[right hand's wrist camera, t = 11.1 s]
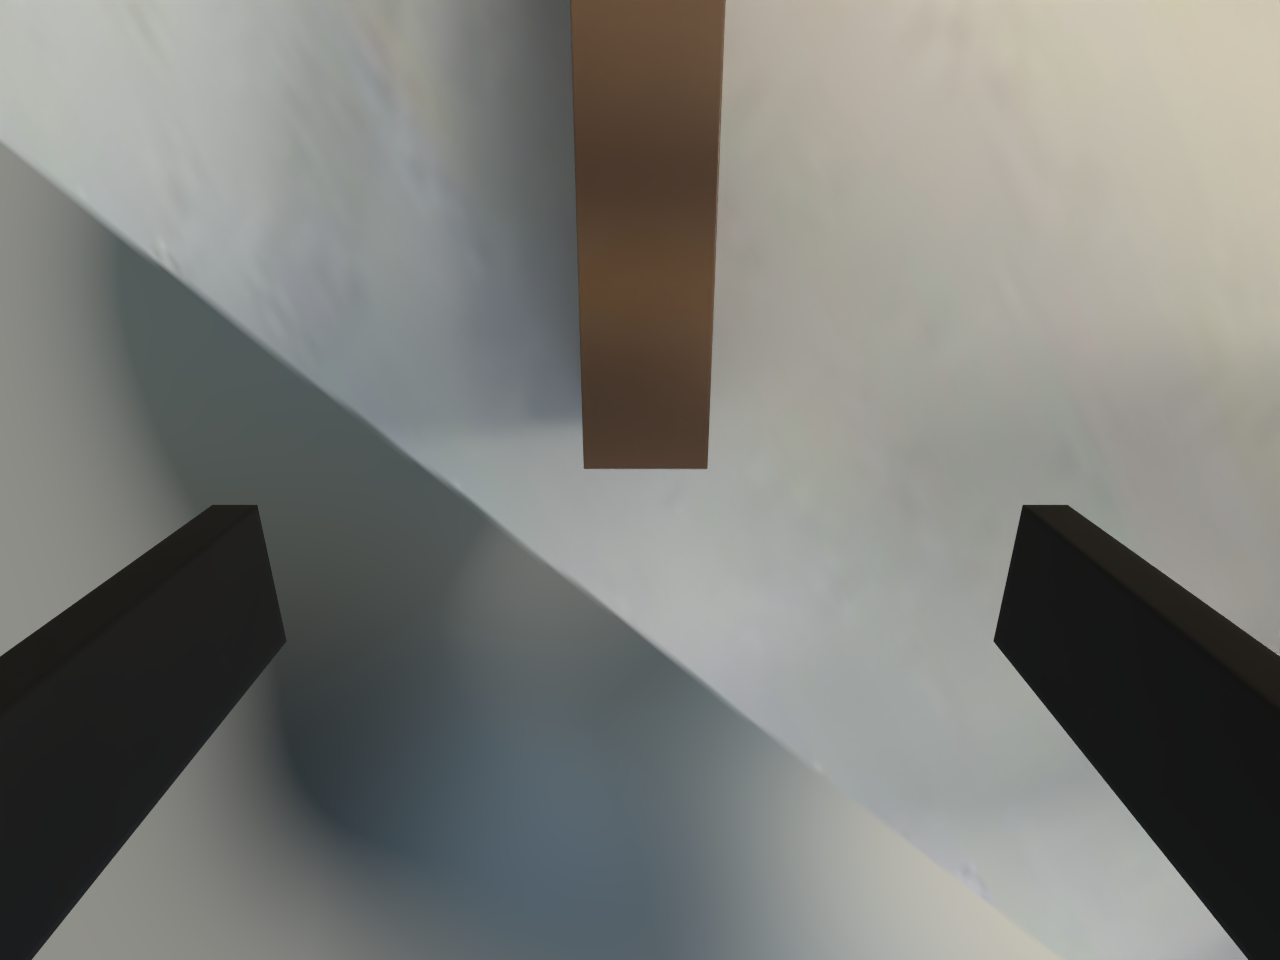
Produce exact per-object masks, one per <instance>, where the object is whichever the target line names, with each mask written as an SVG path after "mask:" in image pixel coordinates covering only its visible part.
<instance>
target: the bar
mask: <svg viewBox="0 0 1280 960" xmlns="http://www.w3.org/2000/svg"><path fill="white" fill-rule="evenodd" d="M570 10H571V45H572V79H573V113H574V147H575V182H576V216H577V250H578V284H579V319H580V353H581V387H582V422H583V456H584V469H707V465H708V439H709V413H710V387H711V362H712V336H713V310H714V284H715V258H716V232H717V206H718V180H719V154H720V128H721V102H722V76H723V50H724V24H725V0H570Z"/></svg>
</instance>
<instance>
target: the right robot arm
mask: <svg viewBox="0 0 1280 960" xmlns="http://www.w3.org/2000/svg"><path fill="white" fill-rule="evenodd" d="M285 642H286V637H285V632H284V628H283V623H282V618H281V614H280V609H279V604H278V600H277V595H276V590H275V586H274V581H273V576H272V572H271V567H270V563H269V558H268V553H267V548H266V544H265V539H264V535H263V530H262V525H261V521H260V516H259V511H258V507H257V505H212V506H210V507H209V508H208V509H206V510H205V511H203V512H202V513H201V514H199V515H198V516H196V517H195V518H194V519H192V520H191V521H189V522H188V523H187V524H185V525H184V526H182V527H181V528H180V529H178V530H177V531H175V532H174V533H173V534H171V535H170V536H168V537H167V538H166V539H164V540H163V541H161V542H160V543H159V544H157V545H156V546H154V547H153V548H152V549H150V550H149V551H147V552H146V553H145V554H143V555H142V556H140V557H139V558H138V559H136V560H135V561H133V562H132V563H131V564H129V565H128V566H127V567H125V568H124V569H122V570H121V571H119V572H118V573H117V574H115V575H114V576H113V577H111V578H110V579H108V580H107V581H105V582H104V583H103V584H101V585H100V586H98V587H97V588H96V589H94V590H93V591H91V592H90V593H89V594H87V595H86V596H84V597H83V598H82V599H80V600H79V601H77V602H76V603H75V604H73V605H72V606H71V607H69V608H68V609H66V610H65V611H63V612H62V613H61V614H59V615H58V616H56V617H55V618H54V619H52V620H51V621H49V622H48V623H47V624H45V625H44V626H42V627H41V628H40V629H38V630H37V631H35V632H34V633H33V634H31V635H30V636H28V637H27V638H26V639H24V640H23V641H21V642H20V643H19V644H17V645H16V646H14V647H13V648H12V649H10V650H9V651H7V652H6V653H5V654H3V655H2V656H1V657H0V960H32V959H33V957H34V956H35V955H36V953H37V952H38V951H39V950H40V948H41V947H42V946H43V945H44V944H45V942H46V941H47V940H48V939H49V937H50V936H51V935H52V934H53V932H54V931H55V930H56V929H57V927H58V926H59V925H60V924H61V922H62V921H63V920H64V919H65V917H66V916H67V915H68V914H69V912H70V911H71V910H72V909H73V907H74V906H75V905H76V904H77V902H78V901H79V900H80V899H81V897H82V896H83V895H84V893H85V892H86V891H87V890H88V889H89V887H90V886H91V885H92V883H93V882H94V881H95V880H96V879H97V877H98V876H99V875H100V874H101V872H102V871H103V870H104V868H105V867H106V866H107V865H108V864H109V862H110V861H111V860H112V858H113V857H114V856H115V855H116V854H117V852H118V851H119V850H120V849H121V847H122V846H123V845H124V844H125V842H126V841H127V840H128V839H129V837H130V836H131V835H132V834H133V832H134V831H135V830H136V829H137V827H138V826H139V825H140V824H141V822H142V821H143V820H144V819H145V817H146V816H147V815H148V814H149V812H150V811H151V810H152V809H153V807H154V806H155V805H156V804H157V802H158V801H159V800H160V799H161V797H162V796H163V795H164V794H165V792H166V791H167V790H168V789H169V787H170V786H171V785H172V784H173V782H174V781H175V780H176V779H177V777H178V776H179V775H180V774H181V772H182V771H183V770H184V769H185V767H186V766H187V765H188V764H189V762H190V761H191V760H192V759H193V757H194V756H195V755H196V754H197V752H198V751H199V750H200V749H201V747H202V746H203V745H204V744H205V742H206V741H207V740H208V739H209V737H210V736H211V735H212V734H213V732H214V731H215V730H216V729H217V727H218V726H219V725H220V724H221V722H222V721H223V720H224V719H225V717H226V716H227V715H228V714H229V712H230V711H231V710H232V709H233V707H234V706H235V705H236V704H237V702H238V701H239V700H240V699H241V697H242V696H243V695H244V694H245V692H246V691H247V690H248V689H249V687H250V686H251V685H252V684H253V682H254V681H255V680H256V679H257V677H258V676H259V675H260V674H261V672H262V671H263V670H264V669H265V667H266V666H267V665H268V664H269V662H270V661H271V660H272V659H273V657H274V656H275V655H276V654H277V652H278V651H279V650H280V649H281V647H282V646H283V645H284V644H285ZM994 642H995V644H996V645H997V646H998V647H999V649H1000V650H1001V651H1002V652H1003V654H1004V655H1005V656H1006V657H1007V659H1008V660H1009V661H1010V662H1011V664H1012V665H1013V666H1014V667H1015V669H1016V670H1017V671H1018V672H1019V674H1020V675H1021V676H1022V677H1023V679H1024V680H1025V681H1026V682H1027V684H1028V685H1029V686H1030V687H1031V689H1032V690H1033V691H1034V692H1035V694H1036V695H1037V696H1038V697H1039V699H1040V700H1041V701H1042V702H1043V704H1044V705H1045V706H1046V707H1047V709H1048V710H1049V711H1050V712H1051V714H1052V715H1053V716H1054V717H1055V719H1056V720H1057V721H1058V722H1059V724H1060V725H1061V726H1062V727H1063V729H1064V730H1065V731H1066V732H1067V734H1068V735H1069V736H1070V737H1071V739H1072V740H1073V741H1074V742H1075V744H1076V745H1077V746H1078V747H1079V749H1080V750H1081V751H1082V752H1083V754H1084V755H1085V756H1086V757H1087V759H1088V760H1089V761H1090V762H1091V764H1092V765H1093V766H1094V767H1095V769H1096V770H1097V771H1098V772H1099V774H1100V775H1101V776H1102V777H1103V779H1104V780H1105V781H1106V782H1107V784H1108V785H1109V786H1110V787H1111V789H1112V790H1113V791H1114V792H1115V794H1116V795H1117V796H1118V797H1119V799H1120V800H1121V801H1122V802H1123V804H1124V805H1125V806H1126V807H1127V809H1128V810H1129V811H1130V812H1131V814H1132V815H1133V816H1134V817H1135V819H1136V820H1137V821H1138V822H1139V824H1140V825H1141V826H1142V827H1143V829H1144V830H1145V831H1146V832H1147V834H1148V835H1149V836H1150V837H1151V839H1152V840H1153V841H1154V842H1155V844H1156V845H1157V846H1158V847H1159V849H1160V850H1161V851H1162V852H1163V854H1164V855H1165V856H1166V857H1167V859H1168V860H1169V861H1170V862H1171V864H1172V865H1173V866H1174V867H1175V869H1176V870H1177V871H1178V872H1179V874H1180V875H1181V876H1182V877H1183V879H1184V880H1185V881H1186V882H1187V884H1188V885H1189V886H1190V887H1191V889H1192V890H1193V891H1194V892H1195V894H1196V895H1197V896H1198V897H1199V899H1200V900H1201V901H1202V902H1203V904H1204V905H1205V906H1206V907H1207V909H1208V910H1209V911H1210V912H1211V914H1212V915H1213V916H1214V917H1215V919H1216V920H1217V921H1218V922H1219V924H1220V925H1221V926H1222V927H1223V929H1224V930H1225V931H1226V932H1227V934H1228V935H1229V936H1230V937H1231V939H1232V940H1233V941H1234V942H1235V944H1236V945H1237V946H1238V947H1239V949H1240V950H1241V951H1242V952H1243V954H1244V955H1245V956H1246V957H1247V959H1248V960H1280V656H1278V655H1277V654H1275V653H1274V652H1273V651H1271V650H1270V649H1268V648H1267V647H1266V646H1264V645H1263V644H1261V643H1260V642H1259V641H1257V640H1256V639H1254V638H1253V637H1252V636H1250V635H1249V634H1247V633H1246V632H1245V631H1243V630H1242V629H1240V628H1239V627H1238V626H1236V625H1235V624H1233V623H1232V622H1231V621H1229V620H1228V619H1226V618H1225V617H1224V616H1222V615H1221V614H1219V613H1218V612H1217V611H1215V610H1214V609H1212V608H1211V607H1210V606H1208V605H1207V604H1205V603H1204V602H1203V601H1201V600H1200V599H1198V598H1197V597H1196V596H1194V595H1193V594H1191V593H1190V592H1189V591H1187V590H1186V589H1184V588H1183V587H1182V586H1180V585H1179V584H1177V583H1176V582H1175V581H1173V580H1172V579H1170V578H1169V577H1168V576H1166V575H1165V574H1163V573H1162V572H1161V571H1159V570H1158V569H1156V568H1155V567H1154V566H1152V565H1151V564H1149V563H1148V562H1147V561H1145V560H1144V559H1142V558H1141V557H1140V556H1138V555H1137V554H1135V553H1134V552H1133V551H1131V550H1130V549H1128V548H1127V547H1126V546H1124V545H1123V544H1121V543H1120V542H1119V541H1117V540H1116V539H1114V538H1113V537H1112V536H1110V535H1109V534H1107V533H1106V532H1105V531H1103V530H1102V529H1100V528H1099V527H1098V526H1096V525H1095V524H1093V523H1092V522H1091V521H1089V520H1088V519H1086V518H1085V517H1084V516H1082V515H1081V514H1079V513H1078V512H1077V511H1075V510H1074V509H1072V508H1071V507H1070V506H1068V505H1023V507H1022V511H1021V516H1020V520H1019V525H1018V530H1017V534H1016V539H1015V544H1014V548H1013V553H1012V558H1011V562H1010V567H1009V572H1008V576H1007V581H1006V586H1005V590H1004V595H1003V600H1002V604H1001V609H1000V614H999V618H998V623H997V628H996V632H995V637H994Z"/></svg>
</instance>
